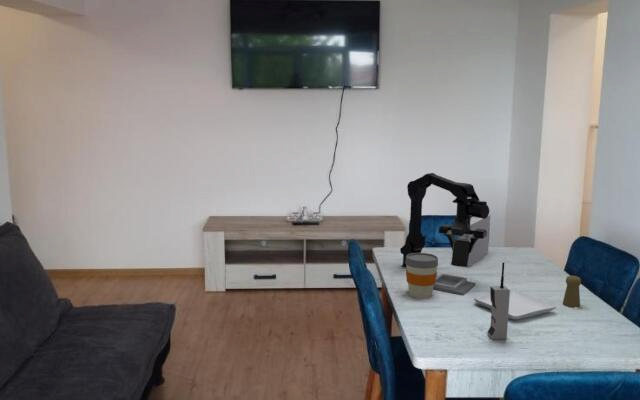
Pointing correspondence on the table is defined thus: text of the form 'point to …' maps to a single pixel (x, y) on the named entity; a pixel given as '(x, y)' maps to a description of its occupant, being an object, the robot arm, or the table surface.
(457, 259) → the battery charger
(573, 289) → the cork
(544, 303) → the salad plate
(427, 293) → the reusable coffee cup
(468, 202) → the robot arm
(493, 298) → the vintage mobile phone
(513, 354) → the table surface
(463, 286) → the charging dock
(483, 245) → the game console
